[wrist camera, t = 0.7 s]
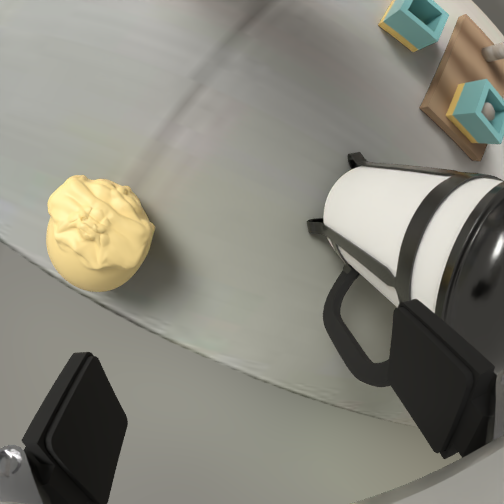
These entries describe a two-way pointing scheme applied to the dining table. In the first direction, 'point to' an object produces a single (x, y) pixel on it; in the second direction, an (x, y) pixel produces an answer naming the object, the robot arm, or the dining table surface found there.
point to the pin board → (464, 79)
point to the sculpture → (97, 233)
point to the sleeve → (414, 22)
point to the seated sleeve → (477, 112)
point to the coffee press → (418, 251)
